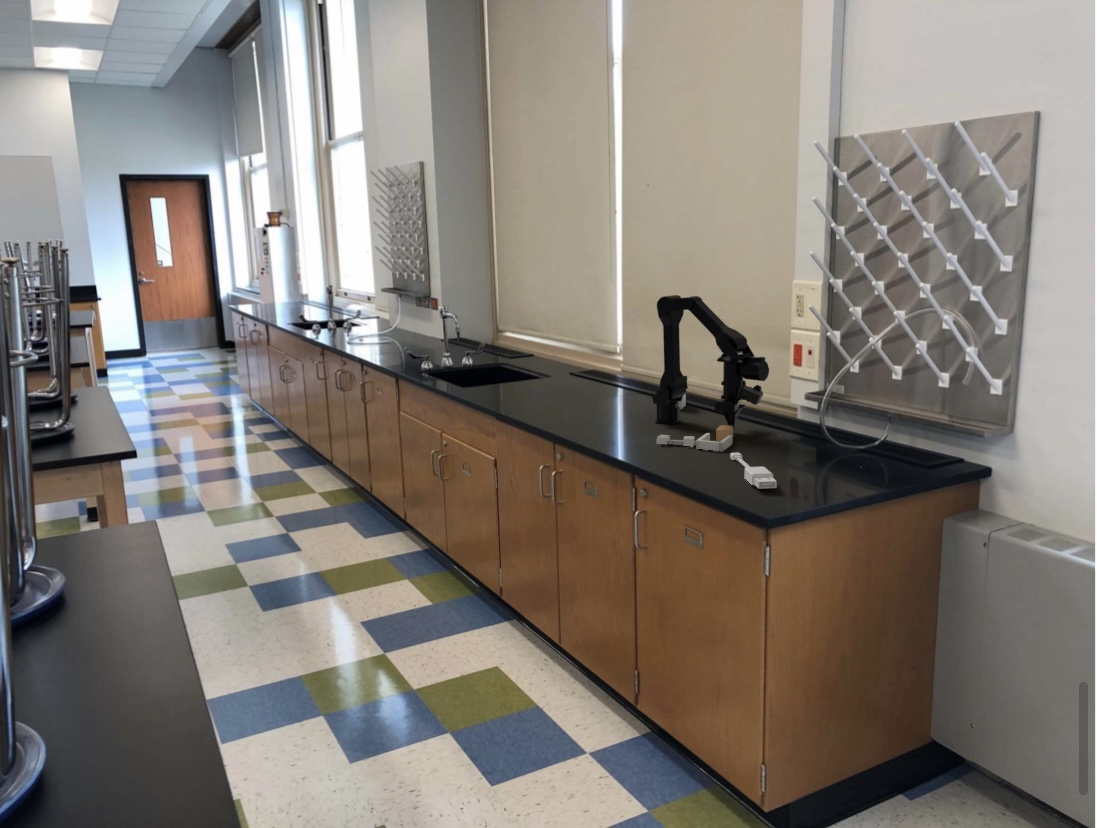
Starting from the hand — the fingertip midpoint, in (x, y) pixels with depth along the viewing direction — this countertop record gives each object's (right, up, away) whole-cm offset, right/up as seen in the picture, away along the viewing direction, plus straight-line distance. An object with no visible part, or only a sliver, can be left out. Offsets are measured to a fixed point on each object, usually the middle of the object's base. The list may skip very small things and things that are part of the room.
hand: (732, 429), depth 255 cm
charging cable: (-5, -11, -42) cm, 43 cm away
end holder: (-8, -4, -15) cm, 17 cm away
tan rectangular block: (-4, -3, -7) cm, 8 cm away
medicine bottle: (-12, +7, +39) cm, 41 cm away
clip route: (-18, -4, -12) cm, 22 cm away
